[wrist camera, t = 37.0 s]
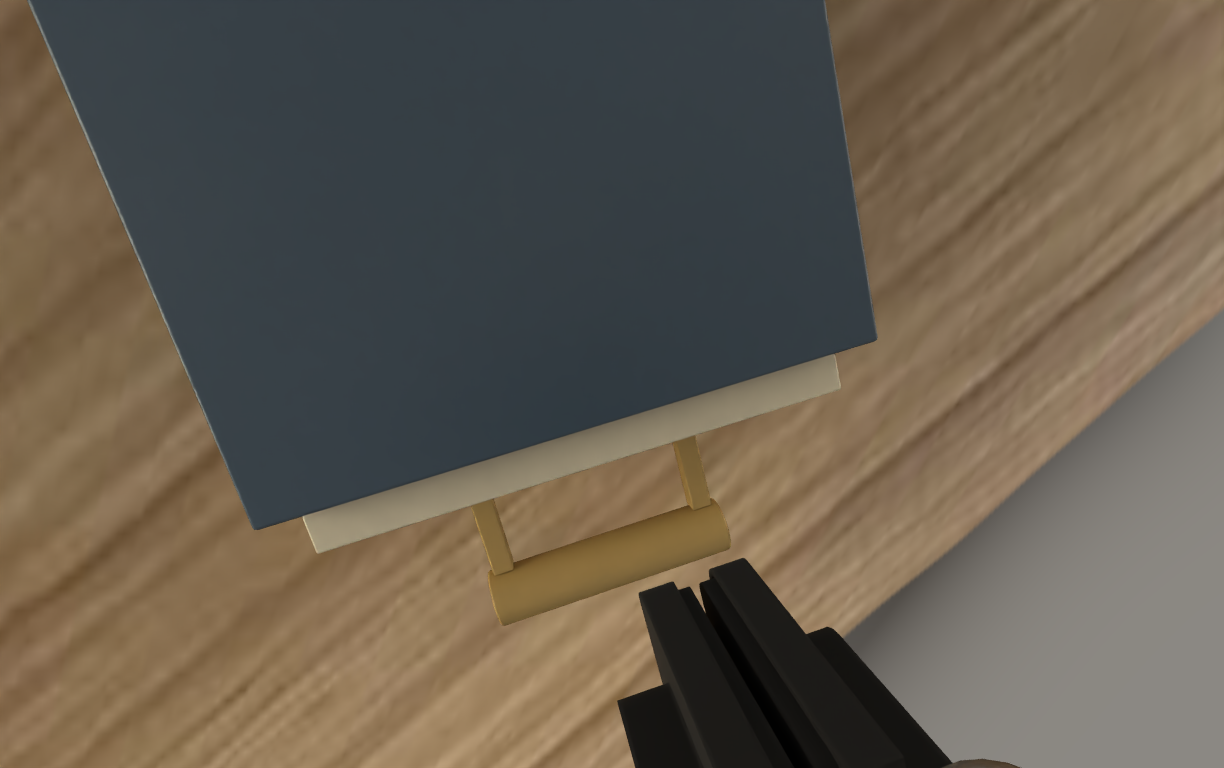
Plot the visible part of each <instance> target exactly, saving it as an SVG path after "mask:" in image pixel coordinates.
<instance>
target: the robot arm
mask: <svg viewBox="0 0 1224 768" xmlns="http://www.w3.org/2000/svg"><path fill="white" fill-rule="evenodd" d="M709 577H710V580H707V581H704V582H701V583H700V584H699V585H700V592H701V596H702V600H703V604H704V608H705V612H706V613H705V612H704V610H703V608H702V606H701V605H700V603H699V601H698V599H697V598H696V596H695V594H694V592H693V591H692V589H691V588H690V587H686V588H683V589H680V590H678V589H677V587H676V585H675V584H674V582H669V583H666V584H663V585H660V586H657V587H654V588H651V589H648V590H645V591H642V592H639V598H640V602H641V606H642V610H643V614H644V617H645V621H646V625H647V628H648V632H649V635H650V639H651V643H652V646H653V650H654V654H655V657H656V661H657V665H658V668H659V672H660V675H661V679H662V683H663V685H661V686H658V687H655V688H652V689H649V690H647V691H644V692H641V693H638V694H635V695H632V696H629V697H627V698H624V699H621V700H618V701H617V702H618V706H619V710H620V713H621V717H622V721H623V724H624V728H625V731H626V735H627V739H628V742H629V746H630V750H631V753H632V757H633V761H634V764H635V768H1020V767H1017V766H1015V765H1012V764H1010V763H1006V762H1000V761H992V760H986V759H976V760H963V761H958V762H955V763H952V762H951V761H950V760H949V758H948V757H947V756H946V755H945V754H944V753H943V752H942V750H941V749H940V748H939V747H938V746H937V745H936V744H935V743H934V741H933V740H932V739H931V738H930V737H929V736H928V735H927V733H926V732H924V730H923V729H922V728H921V727H920V726H919V724H918V723H917V722H916V721H915V720H914V719H913V718H912V717H911V715H910V714H909V713H908V712H907V711H906V710H905V709H904V707H903V706H902V705H901V704H900V703H899V702H898V701H897V699H896V698H895V697H894V696H893V695H892V694H891V693H890V692H889V690H888V689H887V688H886V687H885V686H884V685H883V684H882V683H881V681H880V680H879V679H878V678H877V677H876V676H875V675H874V674H873V672H872V671H871V670H870V669H869V668H868V667H867V666H866V664H865V663H864V662H863V661H862V660H861V659H860V658H859V656H858V655H857V654H856V653H855V652H854V651H853V650H852V649H851V647H850V646H849V645H848V644H847V643H846V642H845V641H844V639H843V638H842V637H841V636H840V635H839V634H838V633H837V632H836V631H835V630H834V629H832V628H829V627H825V628H823V629H820V630H817V631H814V632H811V633H808V634H805V632H804V631H803V630H802V629H801V627H800V626H799V625H798V624H797V622H796V621H795V620H794V619H793V617H792V616H791V615H790V614H789V612H788V611H787V610H786V609H785V607H784V606H783V605H782V604H781V602H780V601H779V600H778V599H777V597H776V596H775V595H774V594H773V592H772V591H771V590H770V589H769V587H768V586H767V585H766V584H765V582H764V581H763V580H762V579H761V577H760V576H759V575H758V574H757V572H756V571H755V570H754V569H753V567H752V566H751V565H750V564H749V562H748V561H747V560H746V559H745V558H741V559H738V560H735V561H732V562H729V563H726V564H723V565H720V566H717V567H714V568H711V569H710V570H709Z"/></svg>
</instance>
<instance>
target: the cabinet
mask: <svg viewBox="0 0 1224 768" xmlns="http://www.w3.org/2000/svg"><path fill="white" fill-rule="evenodd" d="M27 1H28V3H29V6H30V8H31V10H32V13H33V15H34V17H35V20H36V22H37V25H38V27H39V29H40V32H41V34H42V36H43V39H44V41H45V43H46V46H47V48H48V50H49V53H50V55H51V57H52V60H53V62H54V64H55V67H56V69H57V71H58V74H59V76H60V78H61V81H62V83H63V85H64V88H65V90H66V92H67V95H68V97H69V99H70V102H71V104H72V106H73V109H74V111H75V113H76V116H77V118H78V120H79V123H80V125H81V128H82V130H83V132H84V135H85V137H86V139H87V142H88V144H89V146H90V149H91V151H92V153H93V156H94V158H95V160H96V163H97V165H98V167H99V170H100V172H101V174H102V177H103V179H104V181H105V184H106V186H107V188H108V191H109V193H110V195H111V198H112V200H113V202H114V205H115V207H116V209H117V212H118V214H119V216H120V219H121V221H122V224H123V226H124V228H125V231H126V233H127V235H128V238H129V240H130V242H131V245H132V247H133V249H134V252H135V254H136V256H137V259H138V261H139V263H140V266H141V268H142V270H143V273H144V275H145V277H146V280H147V282H148V284H149V287H150V289H151V291H152V294H153V296H154V298H155V301H156V303H157V305H158V308H159V310H160V312H161V315H162V317H163V319H164V322H165V324H166V327H167V329H168V331H169V334H170V336H171V338H172V341H173V343H174V345H175V348H176V350H177V352H178V355H179V357H180V359H181V362H182V364H183V366H184V369H185V371H186V373H187V376H188V378H189V380H190V383H191V385H192V387H193V390H194V392H195V394H196V397H197V399H198V401H199V404H200V406H201V408H202V411H203V413H204V415H205V418H206V420H207V422H208V425H209V427H210V430H211V432H212V434H213V437H214V439H215V441H216V444H217V446H218V448H219V451H220V453H221V455H222V458H223V460H224V462H225V465H226V467H227V469H228V472H229V474H230V476H231V479H232V481H233V483H234V486H235V488H236V490H237V493H238V495H239V497H240V500H241V502H242V504H243V507H244V509H245V511H246V514H247V516H248V518H249V521H250V523H251V526H252V528H253V529H254V530H260V529H263V528H266V527H270V526H273V525H276V524H279V523H283V522H286V521H289V520H292V519H296V518H299V517H302V516H305V515H309V514H312V513H315V512H319V511H322V510H325V509H328V508H332V507H335V506H338V505H341V504H345V503H348V502H351V501H354V500H358V499H361V498H364V497H368V496H371V495H374V494H377V493H381V492H384V491H387V490H390V489H394V488H397V487H400V486H404V485H407V484H410V483H413V482H417V481H420V480H423V479H426V478H430V477H433V476H436V475H439V474H443V473H446V472H449V471H453V470H456V469H459V468H462V467H466V466H469V465H472V464H475V463H479V462H482V461H485V460H488V459H492V458H495V457H498V456H502V455H505V454H508V453H511V452H515V451H518V450H521V449H524V448H528V447H531V446H534V445H538V444H541V443H544V442H547V441H551V440H554V439H557V438H560V437H564V436H567V435H570V434H573V433H577V432H580V431H583V430H587V429H590V428H593V427H596V426H600V425H603V424H606V423H609V422H613V421H616V420H619V419H623V418H626V417H629V416H632V415H636V414H639V413H642V412H645V411H649V410H652V409H655V408H658V407H662V406H665V405H668V404H672V403H675V402H678V401H681V400H685V399H688V398H691V397H694V396H698V395H701V394H704V393H707V392H711V391H714V390H717V389H721V388H724V387H727V386H730V385H734V384H737V383H740V382H743V381H747V380H750V379H753V378H757V377H760V376H763V375H766V374H770V373H773V372H776V371H779V370H783V369H786V368H789V367H792V366H796V365H799V364H802V363H806V362H809V361H812V360H815V359H819V358H822V357H825V356H828V355H832V354H835V353H838V352H841V351H845V350H848V349H851V348H855V347H858V346H861V345H864V344H868V343H871V342H874V341H876V340H877V338H878V336H877V330H876V323H875V317H874V311H873V304H872V298H871V291H870V285H869V279H868V272H867V266H866V259H865V253H864V247H863V240H862V234H861V227H860V221H859V215H858V208H857V202H856V196H855V189H854V183H853V176H852V170H851V164H850V157H849V151H848V144H847V138H846V132H845V125H844V119H843V112H842V106H841V100H840V93H839V87H838V80H837V74H836V68H835V61H834V55H833V49H832V42H831V36H830V29H829V23H828V17H827V10H826V4H825V0H27Z"/></svg>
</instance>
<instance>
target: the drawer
mask: <svg viewBox="0 0 1224 768" xmlns="http://www.w3.org/2000/svg"><path fill="white" fill-rule="evenodd" d="M840 389H841V386H840V380H839V374H838V369H837V363H836V357H835V354H832V355H828V356H825V357H822V358H819V359H815V360H812V361H809V362H806V363H802V364H799V365H796V366H792V367H789V368H786V369H783V370H779V371H776V372H773V373H770V374H766V375H763V376H760V377H757V378H753V379H750V380H747V381H743V382H740V383H737V384H734V385H730V386H727V387H724V388H721V389H717V390H714V391H711V392H707V393H704V394H701V395H698V396H694V397H691V398H688V399H685V400H681V401H678V402H675V403H672V404H668V405H665V406H662V407H658V408H655V409H652V410H649V411H645V412H642V413H639V414H636V415H632V416H629V417H626V418H623V419H619V420H616V421H613V422H609V423H606V424H603V425H600V426H596V427H593V428H590V429H587V430H583V431H580V432H577V433H573V434H570V435H567V436H564V437H560V438H557V439H554V440H551V441H547V442H544V443H541V444H538V445H534V446H531V447H528V448H524V449H521V450H518V451H515V452H511V453H508V454H505V455H502V456H498V457H495V458H492V459H488V460H485V461H482V462H479V463H475V464H472V465H469V466H466V467H462V468H459V469H456V470H453V471H449V472H446V473H443V474H439V475H436V476H433V477H430V478H426V479H423V480H420V481H417V482H413V483H410V484H407V485H404V486H400V487H397V488H394V489H390V490H387V491H384V492H381V493H377V494H374V495H371V496H368V497H364V498H361V499H358V500H354V501H351V502H348V503H345V504H341V505H338V506H335V507H332V508H328V509H325V510H322V511H319V512H315V513H312V514H309V515H305V516H302V518H303V520H304V523H305V525H306V528H307V530H308V533H309V535H310V538H311V540H312V543H313V545H314V548H315V550H316V552H317V553H322V552H325V551H328V550H332V549H335V548H338V547H341V546H344V545H348V544H351V543H354V542H357V541H360V540H363V539H367V538H370V537H373V536H376V535H379V534H383V533H386V532H389V531H392V530H395V529H398V528H402V527H405V526H408V525H411V524H414V523H418V522H421V521H424V520H427V519H430V518H433V517H437V516H440V515H443V514H446V513H449V512H453V511H456V510H459V509H462V508H465V507H468V506H471V508H472V511H473V514H474V517H475V520H476V523H477V526H478V529H479V532H480V535H481V538H482V541H483V544H484V547H485V550H486V553H487V556H488V559H489V562H490V565H491V568H492V570H490V571H489V572H488V583H489V589H490V593H491V597H492V601H493V605H494V608H495V611H496V614H497V617H498V619H499V621H500V623H501V624H502V626H506V625H509V624H512V623H515V622H517V621H520V620H523V619H526V618H529V617H532V616H535V615H538V614H541V613H544V612H547V611H550V610H553V609H556V608H559V607H561V606H564V605H567V604H570V603H573V602H576V601H579V600H582V599H585V598H588V597H591V596H594V595H597V594H600V593H603V592H605V591H608V590H611V589H614V588H617V587H620V586H623V585H626V584H629V583H632V582H635V581H638V580H641V579H644V578H646V577H649V576H652V575H655V574H658V573H661V572H664V571H667V570H670V569H673V568H676V567H679V566H682V565H685V564H688V563H690V562H693V561H696V560H699V559H702V558H705V557H708V556H711V555H714V554H717V553H720V552H723V551H726V550H728V549H730V547H731V539H730V533H729V529H728V526H727V523H726V520H725V517H724V515H723V513H722V511H721V509H720V507H719V505H718V504H717V502H716V501H715V500H714V499H713V498H710V495H709V491H708V487H707V482H706V478H705V474H704V470H703V465H702V461H701V457H700V453H699V448H698V444H697V440H696V436H695V435H698V434H701V433H704V432H707V431H710V430H713V429H717V428H720V427H723V426H726V425H729V424H733V423H736V422H739V421H742V420H745V419H748V418H752V417H755V416H758V415H761V414H764V413H768V412H771V411H774V410H777V409H780V408H783V407H787V406H790V405H793V404H796V403H799V402H803V401H806V400H809V399H812V398H815V397H818V396H822V395H825V394H828V393H831V392H834V391H838V390H840ZM672 442H673V446H674V451H675V455H676V459H677V463H678V467H679V471H680V475H681V479H682V483H683V487H684V491H685V495H686V500H687V503H688V504H689V505H688V506H684V507H681V508H678V509H675V510H672V511H669V512H666V513H663V514H660V515H657V516H654V517H651V518H648V519H645V520H642V521H639V522H636V523H633V524H630V525H627V526H624V527H621V528H618V529H615V530H611V531H608V532H605V533H602V534H599V535H596V536H593V537H590V538H587V539H584V540H581V541H578V542H575V543H572V544H569V545H566V546H563V547H560V548H557V549H554V550H551V551H548V552H545V553H541V554H538V555H535V556H532V557H529V558H526V559H523V560H520V561H517V562H513V557H512V554H511V551H510V548H509V545H508V542H507V539H506V536H505V533H504V530H503V527H502V523H501V520H500V517H499V514H498V511H497V508H496V505H495V502H494V498H497V497H500V496H503V495H507V494H510V493H513V492H516V491H519V490H523V489H526V488H529V487H532V486H535V485H538V484H542V483H545V482H548V481H551V480H554V479H558V478H561V477H564V476H567V475H570V474H573V473H577V472H580V471H583V470H586V469H589V468H593V467H596V466H599V465H602V464H605V463H608V462H612V461H615V460H618V459H621V458H624V457H628V456H631V455H634V454H637V453H640V452H643V451H647V450H650V449H653V448H656V447H659V446H663V445H666V444H669V443H672Z"/></svg>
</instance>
